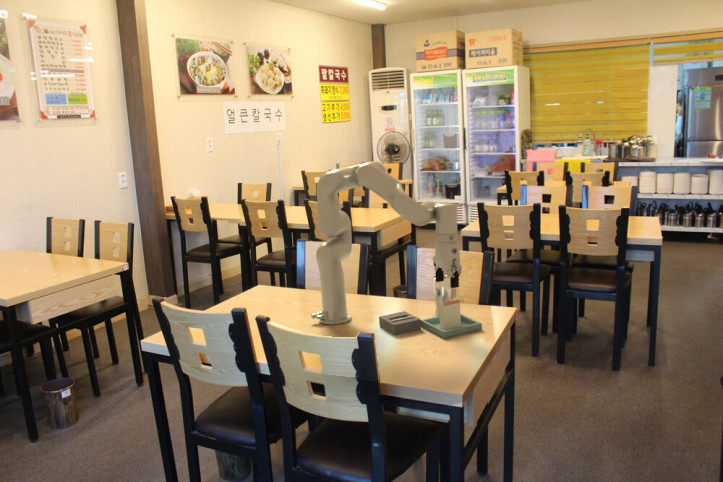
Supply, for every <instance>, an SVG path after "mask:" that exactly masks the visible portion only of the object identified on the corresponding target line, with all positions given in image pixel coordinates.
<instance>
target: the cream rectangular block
mask: <svg viewBox="0 0 723 482" xmlns="http://www.w3.org/2000/svg"><path fill="white" fill-rule="evenodd" d="M439 314H440V328H442V329H444V330H445V329H449V328H454V327H458V326H461V317H460V314H461V299H459V298H458V297H452V298H451V297H450V299H446V300H441V301H439Z"/></svg>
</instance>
